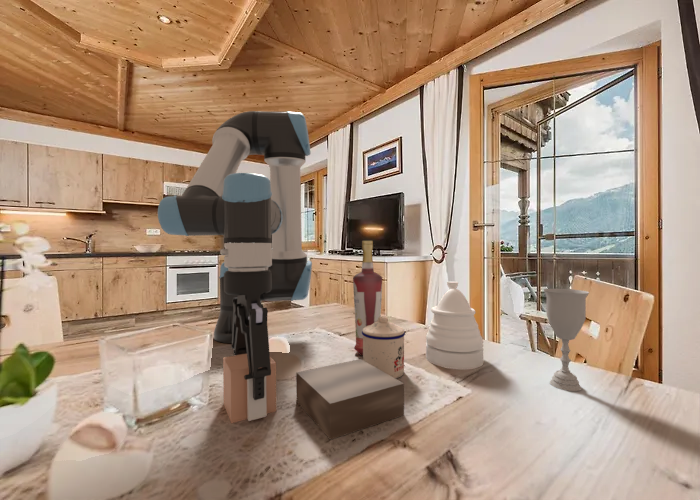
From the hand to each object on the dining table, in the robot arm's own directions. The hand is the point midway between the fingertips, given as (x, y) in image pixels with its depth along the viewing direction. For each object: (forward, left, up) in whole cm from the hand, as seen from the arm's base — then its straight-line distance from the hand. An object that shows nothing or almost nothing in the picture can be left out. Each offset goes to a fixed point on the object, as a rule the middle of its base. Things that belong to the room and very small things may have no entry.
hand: (249, 403), depth 54 cm
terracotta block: (0, 0, -1) cm, 1 cm away
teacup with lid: (-2, +29, -1) cm, 29 cm away
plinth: (+8, +14, -1) cm, 16 cm away
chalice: (+22, +54, -1) cm, 58 cm away
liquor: (-13, +32, -1) cm, 35 cm away
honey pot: (+1, +47, -1) cm, 47 cm away
